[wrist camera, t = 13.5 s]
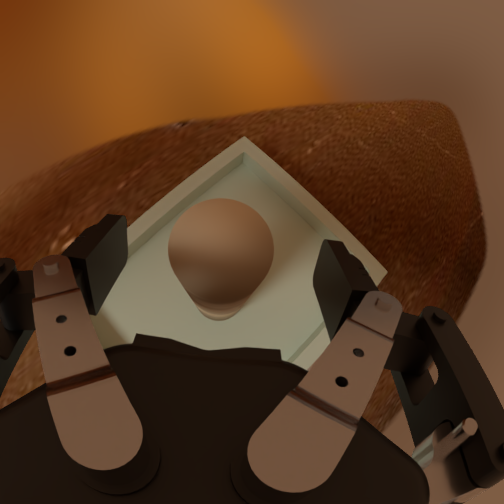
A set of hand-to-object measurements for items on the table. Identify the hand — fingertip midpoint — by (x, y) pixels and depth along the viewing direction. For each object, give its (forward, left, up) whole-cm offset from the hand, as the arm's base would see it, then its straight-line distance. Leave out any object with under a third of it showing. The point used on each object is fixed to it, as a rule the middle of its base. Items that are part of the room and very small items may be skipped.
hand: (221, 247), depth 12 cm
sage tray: (+1, 0, -9) cm, 9 cm away
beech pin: (+1, 0, -8) cm, 8 cm away
